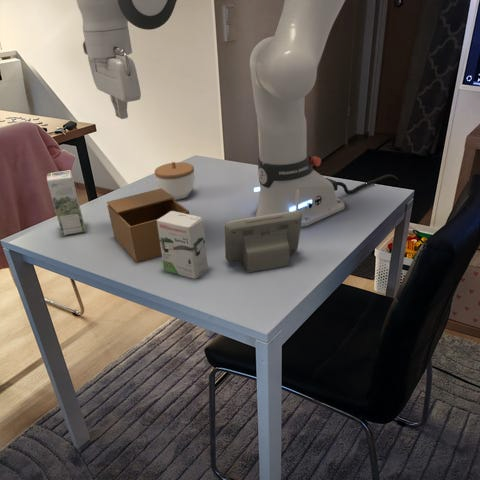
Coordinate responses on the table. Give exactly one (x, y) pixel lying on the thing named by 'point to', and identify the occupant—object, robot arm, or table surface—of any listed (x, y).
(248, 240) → the digital clock
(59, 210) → the syrup box
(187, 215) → the ink box
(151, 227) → the carton
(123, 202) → the flap
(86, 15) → the robot arm
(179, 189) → the trinket box
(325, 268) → the table surface
